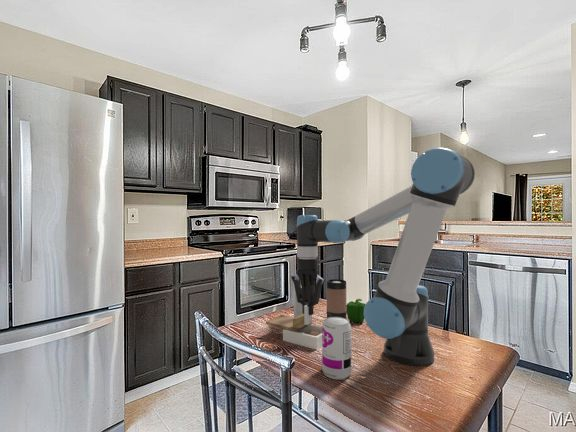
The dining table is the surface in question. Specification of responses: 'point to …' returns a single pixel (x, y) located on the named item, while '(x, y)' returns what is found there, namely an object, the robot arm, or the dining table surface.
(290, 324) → the lid
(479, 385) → the dining table surface
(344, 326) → the supplement can
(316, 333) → the cube terracotta
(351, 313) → the bell pepper
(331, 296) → the travel mug
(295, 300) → the skincare box
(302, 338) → the keepsake box
